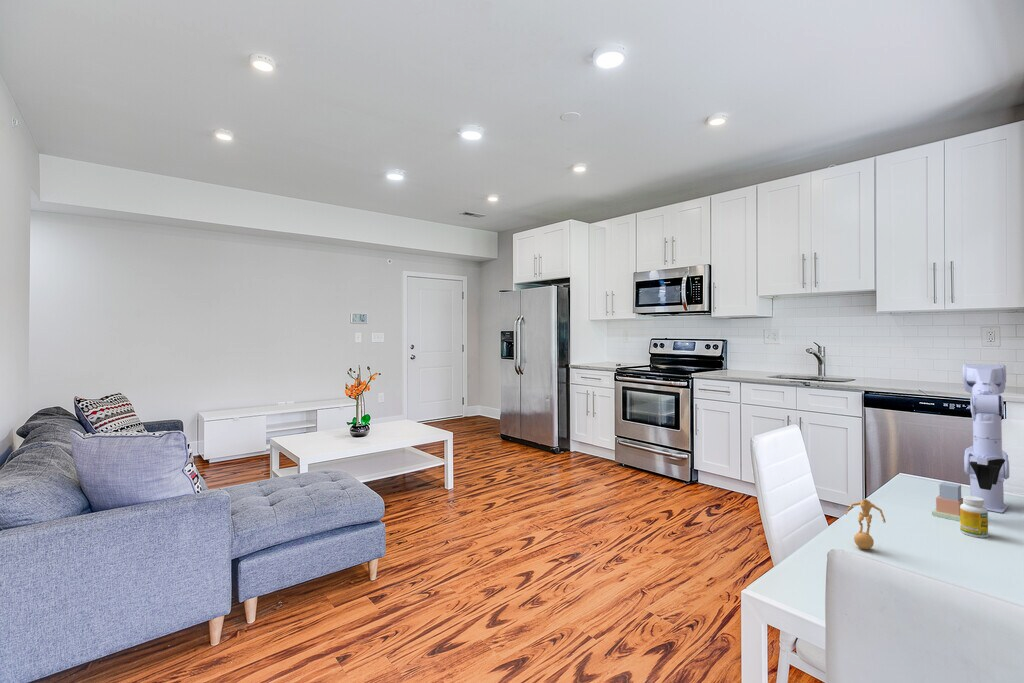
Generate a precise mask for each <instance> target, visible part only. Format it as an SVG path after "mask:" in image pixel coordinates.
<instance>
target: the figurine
mask: <svg viewBox="0 0 1024 683" xmlns="http://www.w3.org/2000/svg"><path fill="white" fill-rule="evenodd" d="M853 506H860V508H861V511H860V512H859V513H858V514H859V515H858V519H857V520H858V523H859V525H860V528H859V531H858V532H857V533H856V534H855V535H854V537H853V540H854V543H855V545H856V546H857V547H858V548H860V549H862V550H869V549H871V548H873V546H874V544H875V541H874V538H873V536H871V535H870V528H871V523H872V518H873V515H872V514H870V512H871V511H872V510H871V509H873V508H874V509H875V510H877V511H879V514H880V516H881V518H882V520H881V521H883V522H882V524H883V523H884V524H886V518H885V515H884V513H883V510H882V509H881V508H880V507H878V506H877V505H875V504H874V503H872V502H871V501H870V500H868V499H866V498H863V499H862V501H857V502H852V503H851V504H850V506H849V507H847V510H846V511H845V515H847V514H848V513H849V511H850V510H851V509H852V508H853ZM864 519H865V521H866V523H867V524H866V526H867V528H866V532H864V531H863V529H864V526H863V525H864V524H863V522H862V521H864Z"/></svg>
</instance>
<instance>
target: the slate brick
mask: <svg viewBox="0 0 1024 683" xmlns="http://www.w3.org/2000/svg"><path fill="white" fill-rule="evenodd" d="M939 495H940V498H943V499H948V500H953V501H959V500H960V499H961V498H962V484H959V483H953V482H946V481H942V482H940V483H939Z"/></svg>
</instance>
